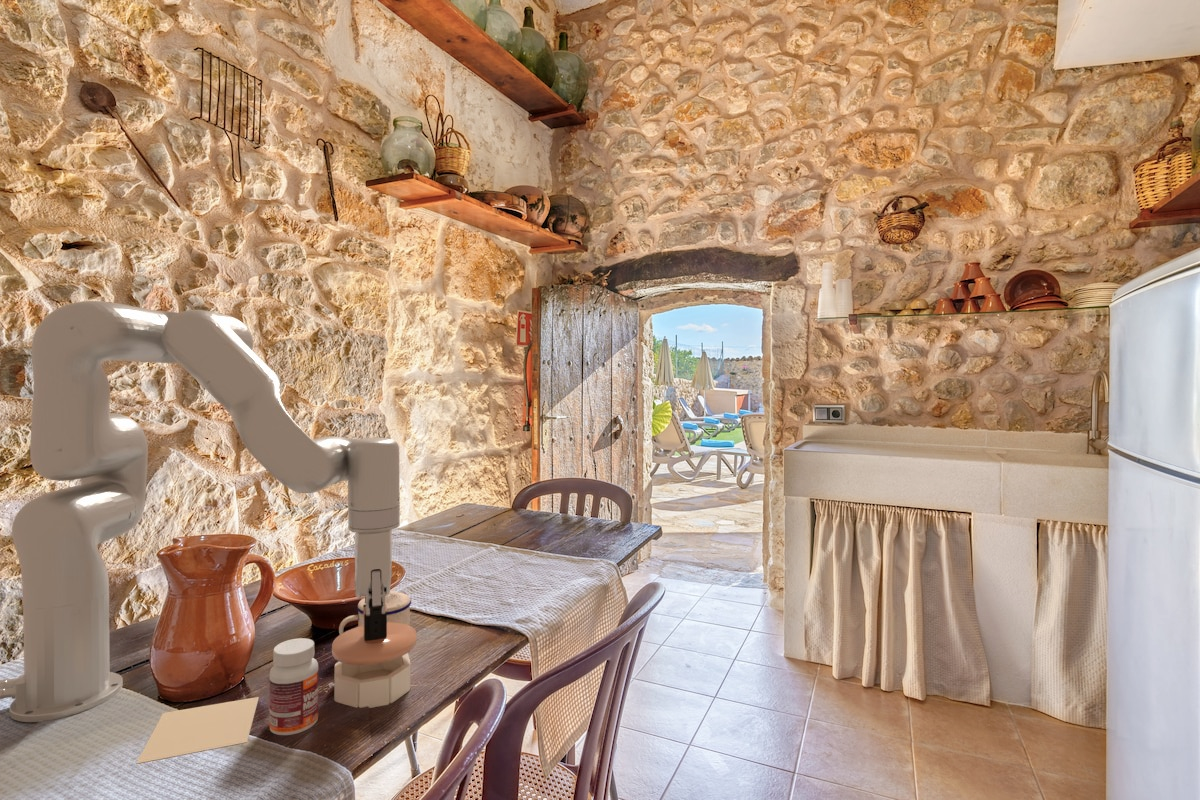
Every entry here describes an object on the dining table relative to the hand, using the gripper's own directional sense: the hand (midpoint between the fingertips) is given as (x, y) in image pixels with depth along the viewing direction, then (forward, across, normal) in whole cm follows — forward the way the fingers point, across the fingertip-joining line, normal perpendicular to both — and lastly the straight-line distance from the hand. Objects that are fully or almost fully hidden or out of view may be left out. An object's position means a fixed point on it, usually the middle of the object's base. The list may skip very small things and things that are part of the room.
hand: (375, 632), depth 93 cm
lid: (+2, 0, 0) cm, 2 cm away
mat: (+9, +3, -22) cm, 24 cm away
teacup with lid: (+9, -13, +1) cm, 16 cm away
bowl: (+9, 0, 0) cm, 9 cm away
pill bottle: (+9, +6, -11) cm, 16 cm away
